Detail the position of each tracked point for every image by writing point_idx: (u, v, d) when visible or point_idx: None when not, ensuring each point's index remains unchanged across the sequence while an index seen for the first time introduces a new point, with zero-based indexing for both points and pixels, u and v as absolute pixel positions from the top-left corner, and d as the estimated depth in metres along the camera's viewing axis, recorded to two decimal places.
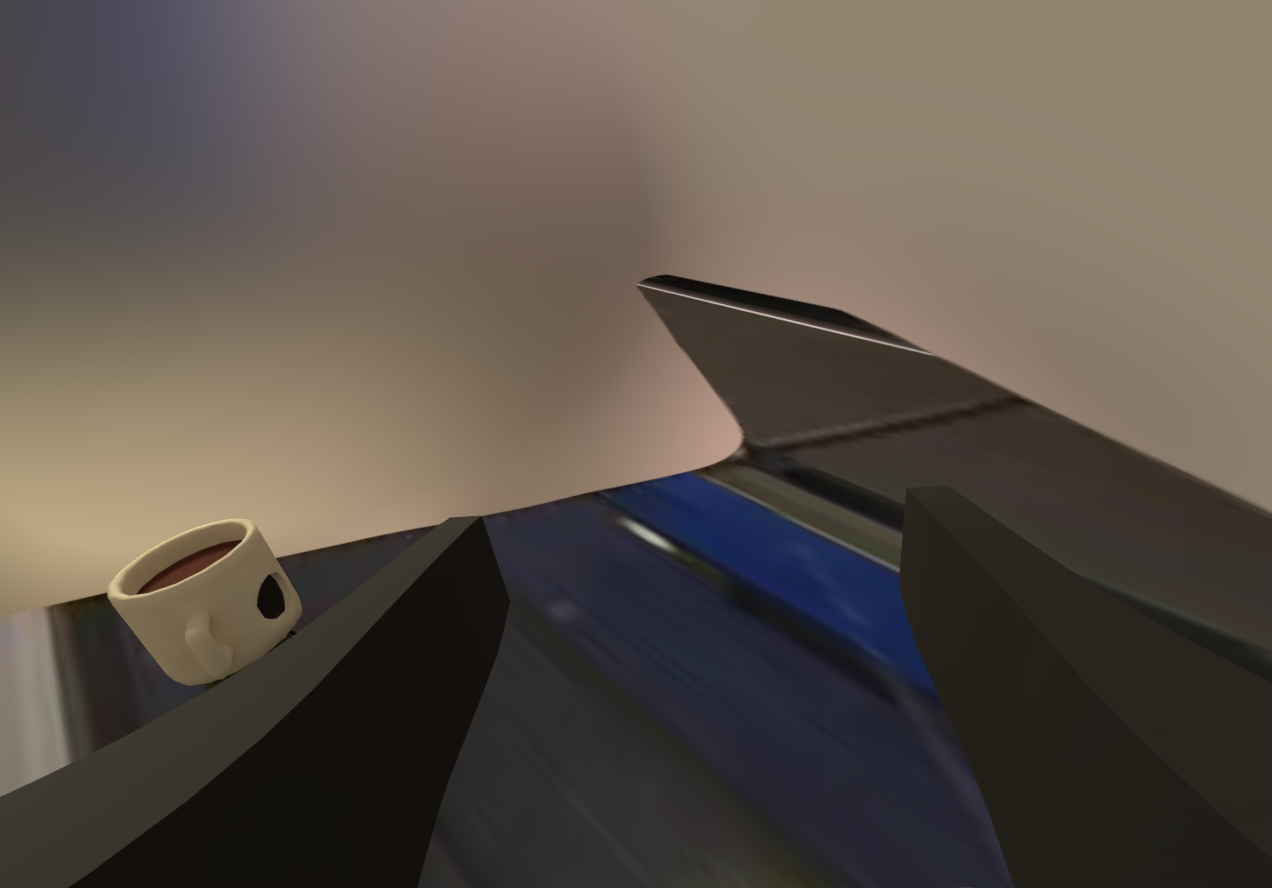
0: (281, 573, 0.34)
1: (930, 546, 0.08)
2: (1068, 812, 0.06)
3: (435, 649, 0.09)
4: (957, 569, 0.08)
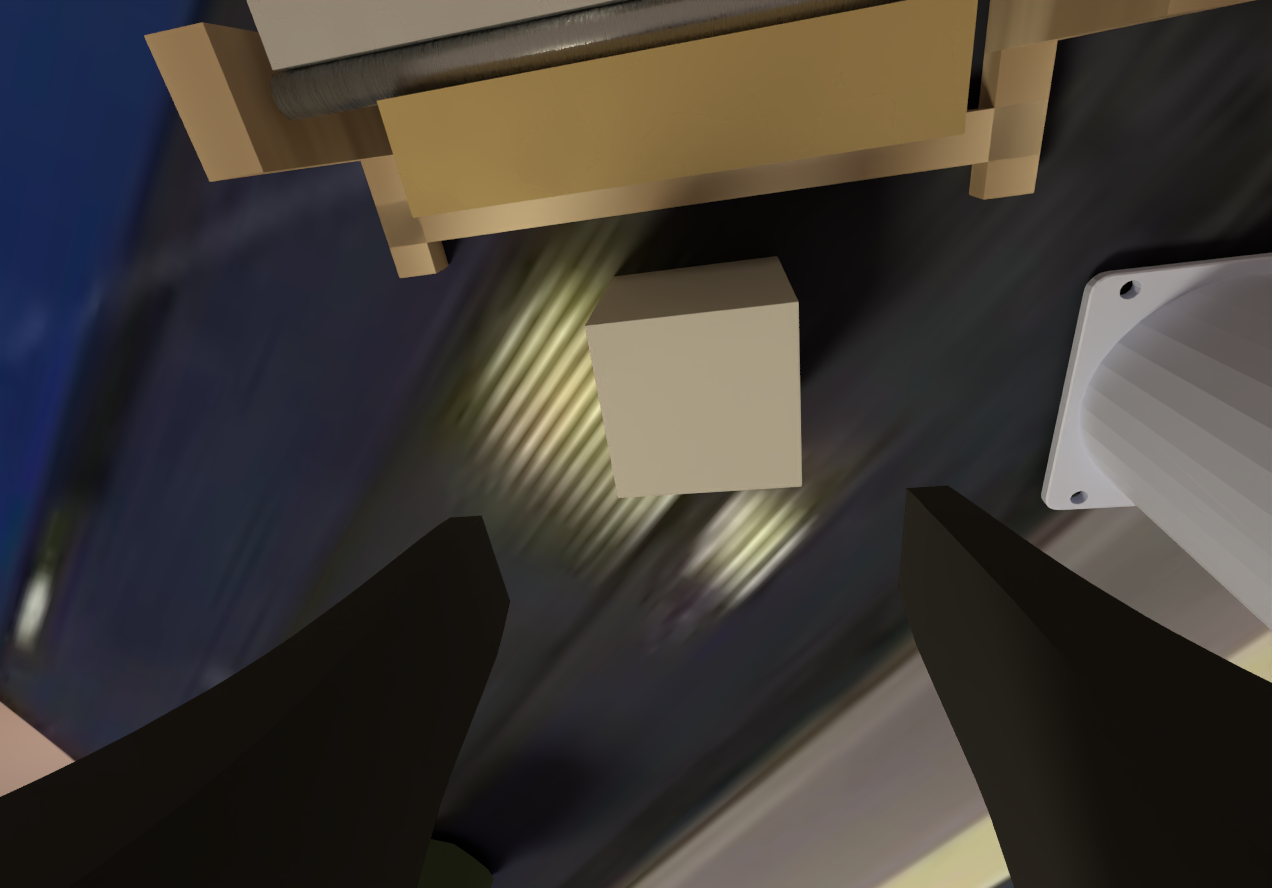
0: None
1: (930, 546, 0.08)
2: (1068, 812, 0.06)
3: (435, 649, 0.09)
4: (957, 569, 0.08)
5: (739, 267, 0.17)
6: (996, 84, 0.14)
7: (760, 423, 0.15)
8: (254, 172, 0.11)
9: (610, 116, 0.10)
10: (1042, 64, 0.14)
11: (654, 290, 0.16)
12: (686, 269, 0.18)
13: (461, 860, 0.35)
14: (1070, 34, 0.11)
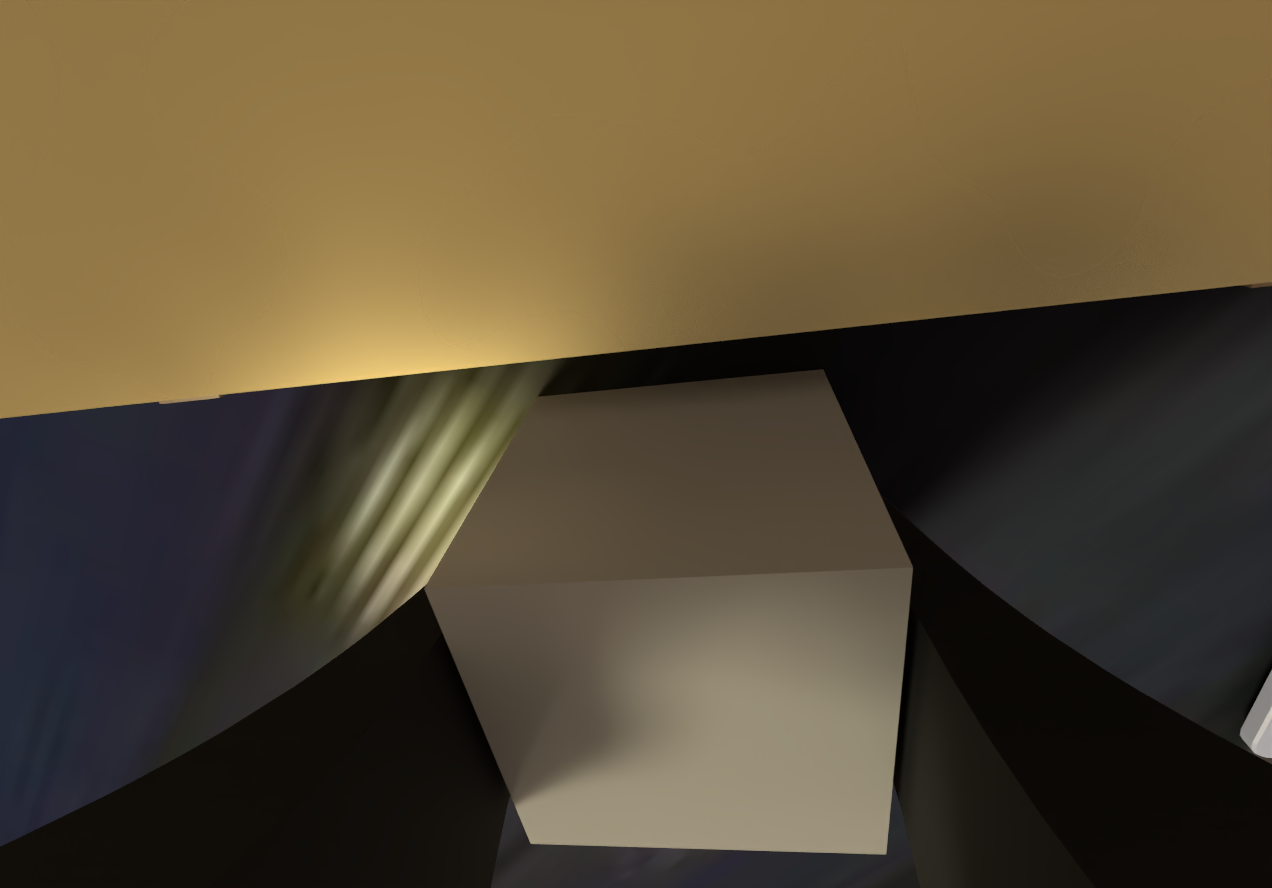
0: None
1: None
2: (949, 810, 0.06)
3: None
4: None
5: (757, 399, 0.09)
6: None
7: (808, 762, 0.07)
8: None
9: (286, 132, 0.03)
10: None
11: (595, 457, 0.08)
12: (661, 392, 0.10)
13: None
14: None
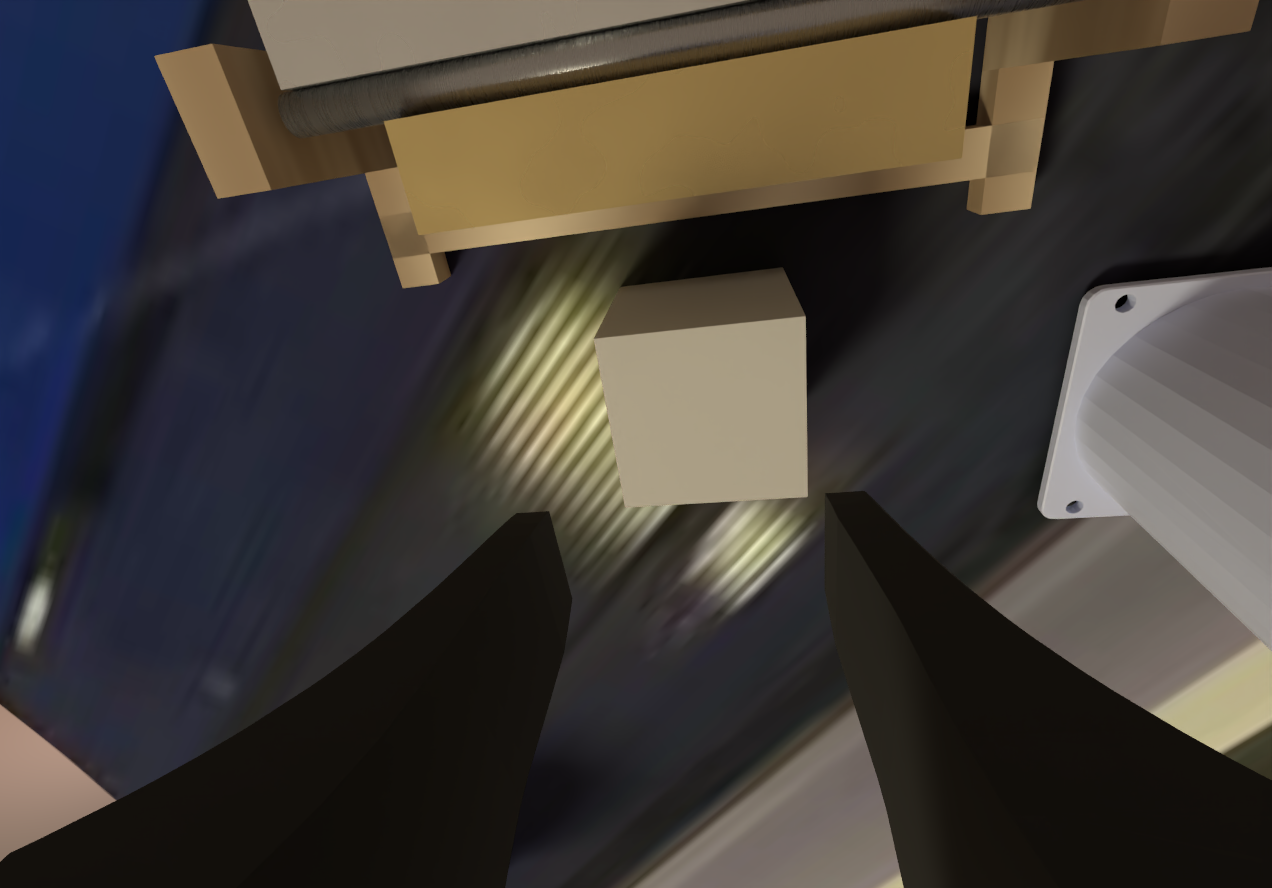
0: None
1: (839, 550, 0.09)
2: (928, 809, 0.06)
3: (515, 647, 0.08)
4: (856, 573, 0.08)
5: (745, 279, 0.17)
6: (993, 102, 0.15)
7: (767, 435, 0.15)
8: (262, 189, 0.12)
9: (614, 138, 0.10)
10: (1039, 83, 0.14)
11: (661, 302, 0.16)
12: (692, 280, 0.18)
13: None
14: (1066, 57, 0.11)
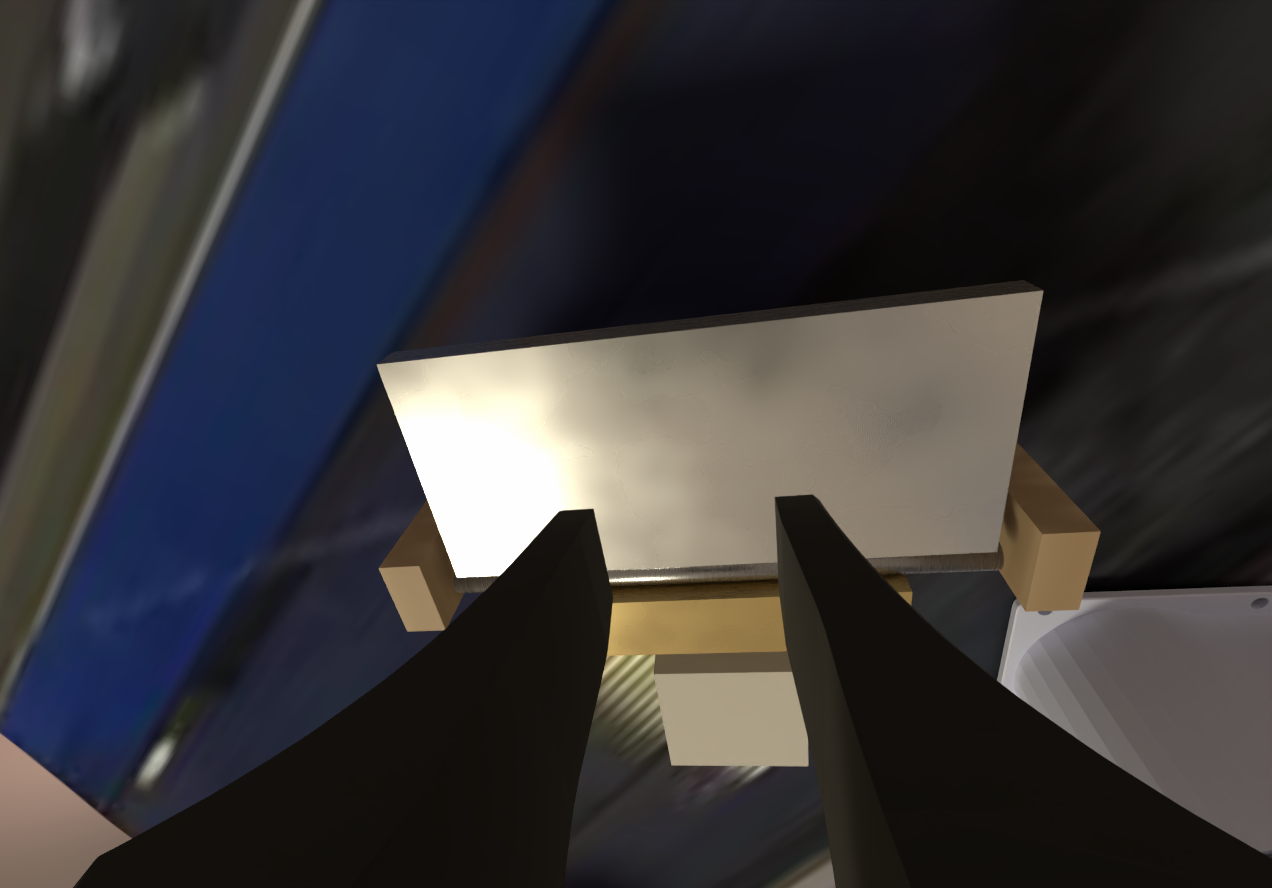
0: None
1: (784, 553, 0.09)
2: (844, 808, 0.06)
3: (567, 646, 0.08)
4: (795, 576, 0.08)
5: None
6: None
7: (778, 731, 0.21)
8: (439, 629, 0.17)
9: (681, 624, 0.16)
10: None
11: None
12: None
13: None
14: None
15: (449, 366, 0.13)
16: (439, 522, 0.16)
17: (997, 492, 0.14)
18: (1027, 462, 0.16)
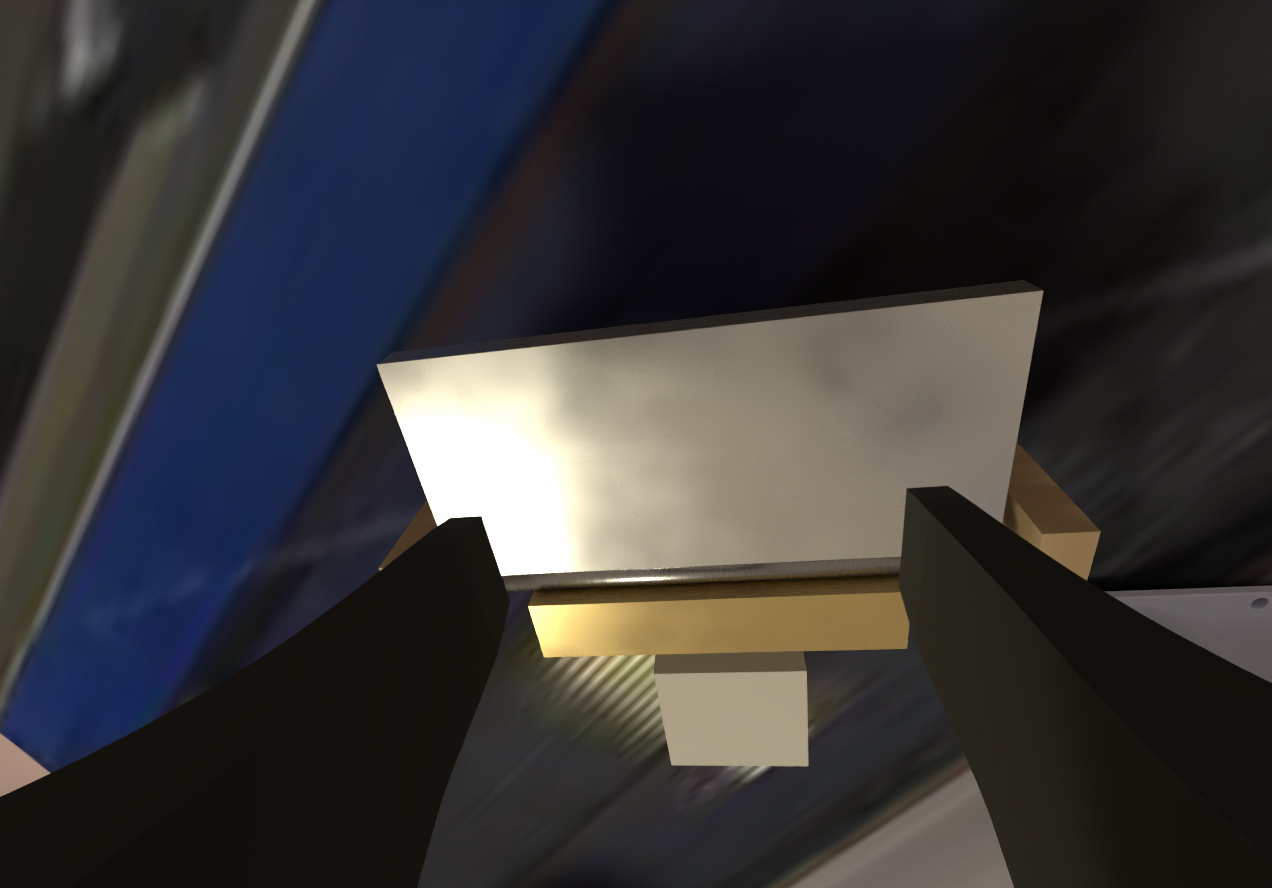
0: None
1: (930, 546, 0.08)
2: (1068, 812, 0.06)
3: (435, 649, 0.09)
4: (957, 569, 0.08)
5: None
6: None
7: (778, 731, 0.21)
8: None
9: (681, 624, 0.16)
10: None
11: None
12: None
13: None
14: None
15: (449, 366, 0.13)
16: (439, 522, 0.16)
17: (997, 492, 0.14)
18: (1027, 462, 0.16)
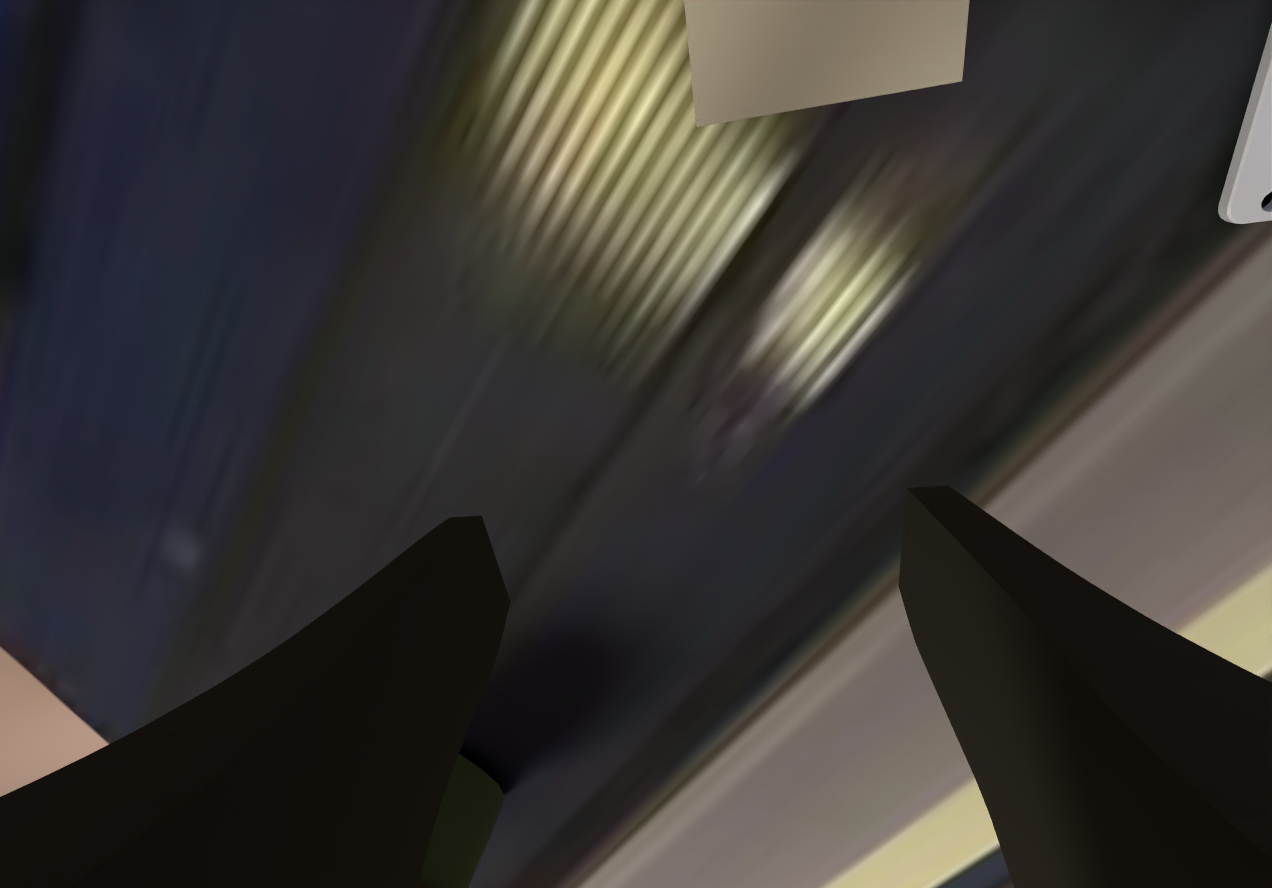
0: None
1: (930, 546, 0.08)
2: (1068, 812, 0.06)
3: (434, 649, 0.09)
4: (957, 569, 0.08)
5: None
6: None
7: None
8: None
9: None
10: None
11: None
12: None
13: (468, 771, 0.30)
14: None
15: None
16: None
17: None
18: None
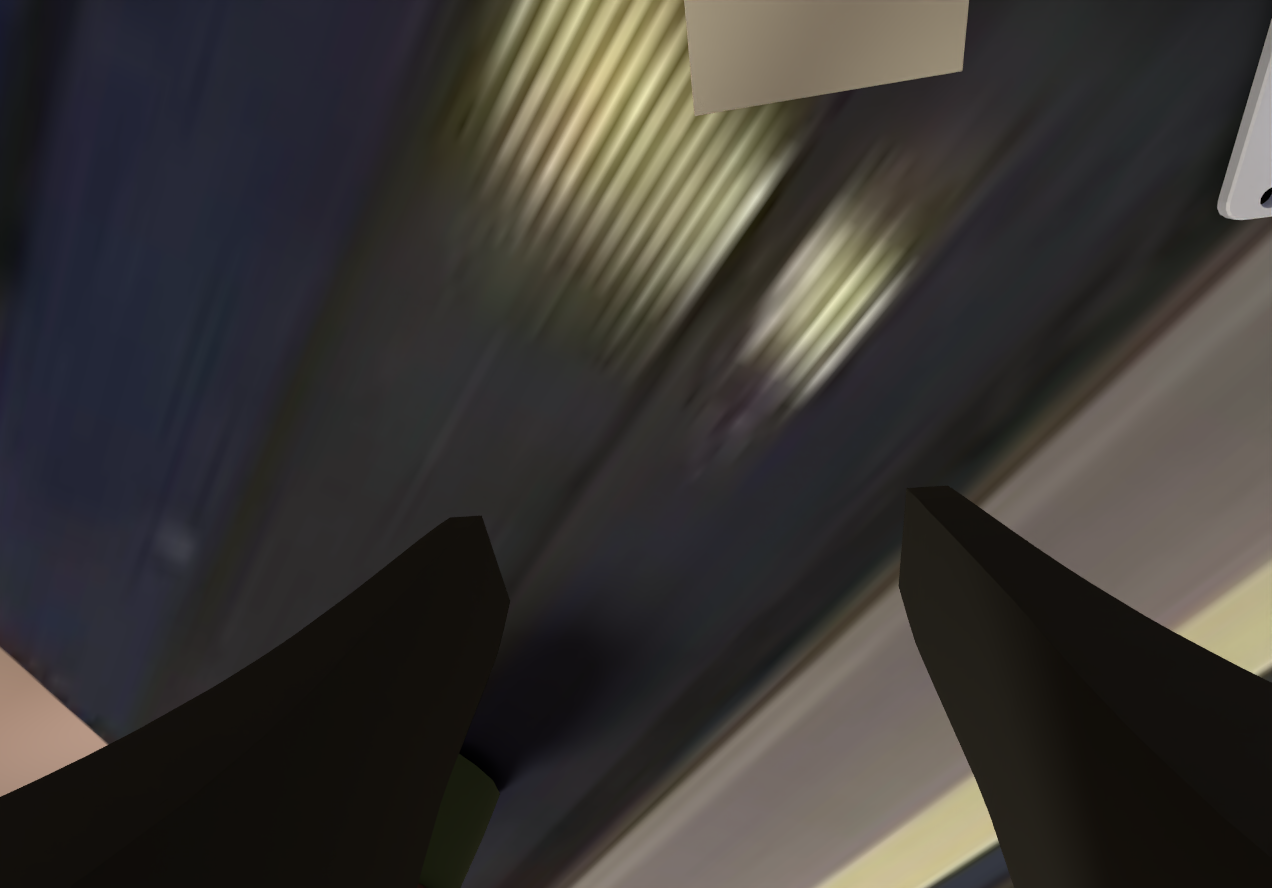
0: None
1: (930, 546, 0.08)
2: (1068, 812, 0.06)
3: (435, 649, 0.09)
4: (957, 569, 0.08)
5: None
6: None
7: None
8: None
9: None
10: None
11: None
12: None
13: (462, 768, 0.30)
14: None
15: None
16: None
17: None
18: None
